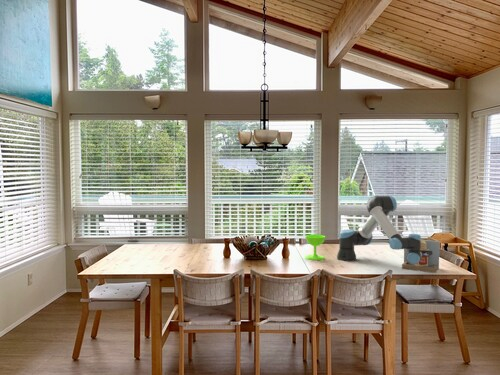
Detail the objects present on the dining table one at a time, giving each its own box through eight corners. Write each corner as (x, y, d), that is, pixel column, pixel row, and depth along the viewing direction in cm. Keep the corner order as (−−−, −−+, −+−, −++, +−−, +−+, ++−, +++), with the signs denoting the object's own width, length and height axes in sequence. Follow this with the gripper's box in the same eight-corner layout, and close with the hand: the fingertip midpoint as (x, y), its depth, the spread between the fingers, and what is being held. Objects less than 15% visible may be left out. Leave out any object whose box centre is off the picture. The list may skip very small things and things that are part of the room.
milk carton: (418, 266, 279) (419, 238, 280) (410, 263, 288) (411, 236, 288) (429, 266, 281) (430, 238, 282) (420, 263, 290) (421, 236, 291)
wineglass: (311, 260, 306) (311, 238, 306) (301, 256, 321) (301, 235, 321) (328, 259, 312) (329, 237, 312) (318, 255, 327) (318, 234, 327)
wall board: (400, 268, 285) (401, 241, 284) (404, 264, 297) (404, 238, 297) (436, 272, 272) (437, 244, 271) (438, 268, 285) (439, 241, 284)
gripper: (399, 258, 275) (405, 253, 295) (433, 262, 264) (437, 256, 283) (400, 247, 275) (405, 243, 294) (434, 251, 264) (437, 246, 283)
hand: (421, 249), depth 289 cm, fingers closed on milk carton, 9 cm apart
